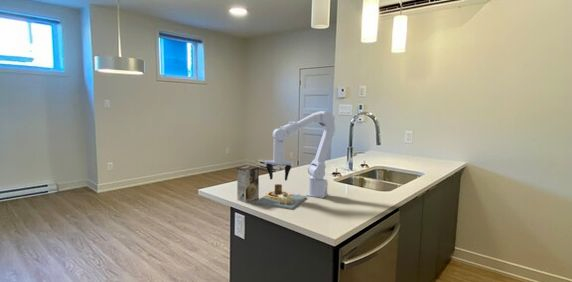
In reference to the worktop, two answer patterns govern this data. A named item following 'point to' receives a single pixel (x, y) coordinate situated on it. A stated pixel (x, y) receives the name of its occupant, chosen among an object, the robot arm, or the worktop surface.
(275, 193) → the planet gear
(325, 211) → the worktop surface
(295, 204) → the carrier plate
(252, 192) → the coffee box
